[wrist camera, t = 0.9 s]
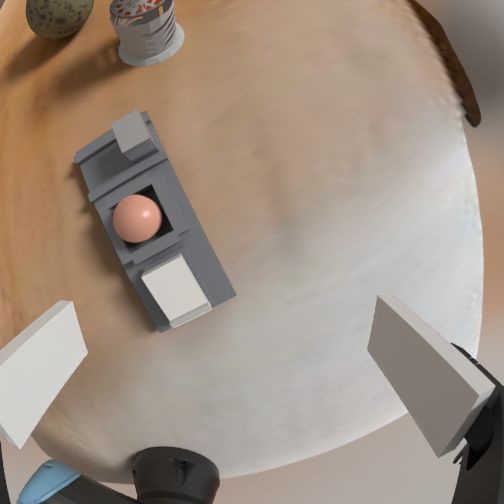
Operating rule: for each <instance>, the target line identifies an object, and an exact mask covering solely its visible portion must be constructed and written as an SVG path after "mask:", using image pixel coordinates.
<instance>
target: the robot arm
mask: <svg viewBox="0 0 504 504" xmlns="http://www.w3.org/2000/svg"><path fill="white" fill-rule="evenodd" d="M367 350H368V352H369V353H370V355H371V356H372V357H373V359H374V360H375V362H376V363H377V365H378V366H379V368H380V369H381V370H382V372H383V373H384V375H385V376H386V378H387V379H388V381H389V382H390V384H391V385H392V387H393V388H394V390H395V391H396V393H397V394H398V396H399V397H400V399H401V400H402V402H403V403H404V405H405V406H406V408H407V410H408V411H409V413H410V414H411V416H412V417H413V419H414V420H415V422H416V423H417V425H418V427H419V428H420V430H421V431H422V433H423V435H424V436H425V438H426V439H427V441H428V442H429V444H430V446H431V447H432V449H433V451H434V452H435V454H436V456H437V457H438V458H439V457H441V456H443V455H445V454H447V453H448V452H450V451H452V450H454V449H455V448H456V447H457V446H458V445H459V443H460V442H461V440H462V439H463V438H465V439H466V441H467V444H466V445H465V446H464V448H463V449H462V450H461V451H460V453H459V454H458V455H457V456H456V458H455V459H454V461H453V463H456V462H457V461H458V460H459V459H460V458H461V456H462V461H461V462H460V463H459V464H461V466H460V472H459V476H458V481H457V485H456V489H455V493H454V497H453V500H452V503H451V504H504V386H503V385H501V383H499V382H498V381H497V380H496V379H495V378H494V377H493V376H492V375H491V374H490V373H489V372H488V371H487V370H486V369H485V368H484V367H483V366H482V365H480V364H478V362H477V361H476V360H475V359H474V358H471V355H470V354H469V353H467V352H466V351H465V350H464V349H463V348H461V347H459V346H457V345H455V344H453V343H450V342H449V341H447V340H446V339H445V338H444V337H443V336H442V335H441V334H440V333H438V332H437V331H436V330H435V329H434V328H433V327H432V326H430V325H429V324H428V323H427V322H426V321H425V320H423V319H422V318H421V317H420V316H419V315H418V314H416V313H415V312H414V311H413V310H412V309H410V308H409V307H408V306H407V305H406V304H404V303H403V302H402V301H401V300H400V299H398V298H397V297H396V296H395V295H393V294H385V295H377V301H376V308H375V313H374V319H373V324H372V330H371V335H370V340H369V344H368V349H367ZM87 354H88V352H87V349H86V346H85V343H84V340H83V337H82V334H81V330H80V327H79V324H78V320H77V317H76V313H75V309H74V305H73V302H72V301H62V300H60V301H59V302H58V303H56V304H55V305H54V306H53V307H51V308H50V309H49V310H48V311H46V312H45V313H44V314H43V315H41V316H40V317H39V318H38V319H36V320H35V321H34V322H33V323H32V324H30V325H29V326H28V327H27V328H26V329H24V330H23V331H22V332H21V333H20V334H18V335H17V336H16V337H15V338H14V339H13V340H12V341H10V342H9V343H8V344H7V345H6V346H5V347H4V348H3V349H1V350H0V433H1V435H2V436H3V437H4V438H5V440H6V441H7V442H8V443H10V444H11V445H13V446H15V447H16V448H18V449H20V450H21V449H22V447H23V445H24V444H25V442H26V441H27V439H28V437H29V435H30V434H31V433H32V431H33V429H34V428H35V426H36V425H37V423H38V422H39V420H40V419H41V417H42V416H43V414H44V413H45V411H46V410H47V408H48V407H49V406H50V404H51V403H52V401H53V400H54V398H55V397H56V395H57V394H58V393H59V391H60V390H61V388H62V387H63V386H64V384H65V383H66V382H67V380H68V379H69V377H70V376H71V375H72V373H73V372H74V371H75V369H76V368H77V367H78V365H79V364H80V363H81V361H82V360H83V359H84V357H85V356H86V355H87ZM132 474H133V477H134V483H135V487H136V492H137V500H135V499H133V498H131V497H129V496H126V495H124V494H122V493H119V492H117V491H115V490H113V489H111V488H109V487H107V486H104V485H102V484H100V483H99V482H97V481H95V480H93V479H91V478H89V477H87V476H85V475H84V474H83V473H82V472H80V471H79V472H78V471H76V470H74V469H73V468H71V467H69V466H67V465H65V464H64V463H62V462H60V461H58V460H48V461H46V462H45V463H44V464H42V465H41V466H40V468H38V470H37V471H36V472H35V473H34V474H33V475H32V477H31V478H30V479H29V481H28V482H27V483H26V485H25V486H24V488H23V489H22V491H21V493H20V495H19V498H18V500H17V502H16V504H212V503H213V501H214V498H215V495H216V492H217V489H218V487H219V484H220V478H219V471H218V469H217V467H216V466H215V464H214V463H213V462H211V461H210V460H209V459H207V458H206V457H204V456H202V455H200V454H198V453H195V452H192V451H189V450H185V449H180V448H174V447H155V448H149V449H146V450H144V451H142V452H140V453H139V454H137V456H136V457H135V459H134V463H133V467H132ZM0 504H11V503H10V499H9V494H8V490H7V485H6V479H5V474H4V467H3V460H2V451H1V442H0Z"/></svg>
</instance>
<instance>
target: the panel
mask: <svg viewBox="0 0 504 504" xmlns="http://www.w3.org/2000/svg"><path fill="white" fill-rule="evenodd" d="M140 114H141V115H142V117H143V119H144V120H145V122H146V124H147V125H148V127H149V130H150V132H151V134H152V136H153V138H154V141H155V143H156V145H157V147H158V149H159V152H157V153H155V154H153V155H152V156H150V157H148V158H146V159H144V160H142V161H141V162H139V163H137V164H135V163H134V162H132V161H131V160H130V159H129V158H127V157H126V156H125V155H124V154H123V153H122V151H121V149H120V147H119V144H118V141H117V139H116V136H115V134H114V131H113V129H112V130H110V131H108V132H107V133H105V134H103V135H102V136H100V137H99V138H97V139H95V140H94V141H92V142H91V143H89V144H88V145H86V146H85V147H83V148H82V149H80V150H79V151H77V152H76V156H75V157H74V159H75V162H76V164H77V165H79V166H80V168H81V171H82V174H83V176H84V179H85V182H86V185H87V187H88V190H89V192H90V193H89V194H88V198H89V200H90V202H91V203H94V205H95V207H96V210H97V212H98V214H99V217H100V219H101V221H102V224H103V226H104V228H105V230H106V233H107V235H108V237H109V239H110V241H111V243H112V246H113V248H114V250H115V252H116V254H117V256H118V258H119V260H120V262H121V264H122V266H123V268H124V270H125V272H126V274H127V276H128V277H129V279H130V281H131V283H132V285H133V287H134V289H135V290H136V292H137V294H138V296H139V298H140V299H141V301H142V303H143V305H144V306H145V308H146V310H147V312H148V313H149V315H150V317H151V318H152V320H153V322H154V323H155V325H156V327H157V328H158V330H159V331H160V333H161V332H164V331H166V330H168V329H170V328H172V327H171V325H170V321H169V319H168V318H167V316H166V315H165V313H164V312H163V310H162V309H161V307H160V306H159V304H158V303H157V301H156V300H155V298H154V297H153V295H152V294H151V292H150V291H149V289H148V287H147V286H146V284H145V283H144V281H143V280H142V278H141V277H142V274H143V273H144V272H146V271H148V270H150V269H152V268H153V267H155V266H157V265H159V264H161V263H163V262H165V261H166V260H168V259H170V258H172V257H174V256H176V255H178V254H180V253H181V254H182V256H183V258H184V260H185V262H186V263H187V265H188V267H189V269H190V270H191V272H192V274H193V276H194V277H195V279H196V281H197V282H198V284H199V286H200V288H201V289H202V291H203V293H204V294H205V296H206V298H207V299H208V301H209V303H210V304H211V308H212V307H214V306H216V305H218V304H220V303H222V302H224V301H226V300H228V299H230V298H232V297H234V296H236V293H235V290H234V289H233V287H232V285H231V283H230V281H229V279H228V277H227V275H226V273H225V272H224V270H223V268H222V266H221V264H220V262H219V260H218V258H217V256H216V254H215V252H214V250H213V248H212V246H211V244H210V242H209V240H208V238H207V236H206V235H205V233H204V231H203V229H202V227H201V225H200V223H199V221H198V219H197V217H196V215H195V213H194V210H193V208H192V206H191V204H190V202H189V200H188V198H187V196H186V194H185V192H184V190H183V188H182V186H181V184H180V182H179V180H178V178H177V175H176V173H175V171H174V169H173V167H172V165H171V163H170V161H169V159H168V156H167V154H166V152H165V150H164V148H163V146H162V143H161V141H160V139H159V137H158V135H157V133H156V130H155V128H154V126H153V124H152V122H151V119H150V117H149V115H148V113H147V111H144V112H142V113H140ZM130 195H141V196H144V197H146V198H149V199H151V200H153V201H154V202H156V203H157V204H158V206H159V207H160V209H161V211H162V215H163V223H162V226H161V229H160V231H159V232H158V233H157V235H156V236H154V237H153V238H151V239H149V240H146V241H142V242H137V243H132V242H128V241H125V240H124V239H122V238H121V237H120V236H119V235H118V234H117V232H116V230H115V228H114V224H113V214H114V211H115V208H116V206H117V205H118V203H119V202H120V201H121V200H122V199H124V198H125V197H127V196H130Z"/></svg>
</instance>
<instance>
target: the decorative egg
mask: <svg viewBox="0 0 504 504" xmlns="http://www.w3.org/2000/svg"><path fill="white" fill-rule="evenodd" d="M93 4H94V0H27V2H26V17H27V21H28V24H29V26H30V28H31V29H32V31H33V32H34V33H35V34H37V35H38V36H40V37H42V38H45V39H60V38H64V37H67V36H69V35H71V34H73V33H74V32H76V31H77V30H78V29H80V28H81V27H82V25H83V24H84V23H85V22H86V20H87V19H88V17H89V16H90V14H91V11H92V8H93Z"/></svg>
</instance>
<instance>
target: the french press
mask: <svg viewBox="0 0 504 504" xmlns="http://www.w3.org/2000/svg"><path fill="white" fill-rule="evenodd" d="M161 5H162V6H163V12H164V14H162V15H161V16H160V15H159V10H158V8H159V7H160V6H161ZM173 5H174V4H173V0H113V2H112V4H111V5H110V12H111V17H110V19H111V22H112V24H113V27H114V29H115V30H116V33H117V32H118V33H117V35H118V37H119V40H120V42H121V43H120V45H119V57H120V58H121V59H122V61H123V62H124V63H127V64H129V65H131V66H150V65H153V64H157V63H160V62H162V61H164V60H166V59H168V58H169V57H171V56H173V55H174V54H175V53H176V52H177V51H178V50H179V49H180V48H181V46H182V43H183V41H184V38H185V36H184V31H183V29H182V28H181V27H180V26H179V25H178V24H177V23H176V21H175V14H174V7H173ZM141 16H142V17H143V18H142V19H137V20H135V21H133V22H131V23H129V24H128V26H126V27H124V26H125V25H126V24H127V23H128V21H130V20H132V19H134V18H136V17H141ZM116 17H117V20H116V24H115V18H116ZM119 18H121V19H120V23H119V25H118V21H119ZM125 18H128V19H127V20H126V21H125V22H124V23H123V24H122V26H121V23H122V21H123V20H124V19H125Z"/></svg>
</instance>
